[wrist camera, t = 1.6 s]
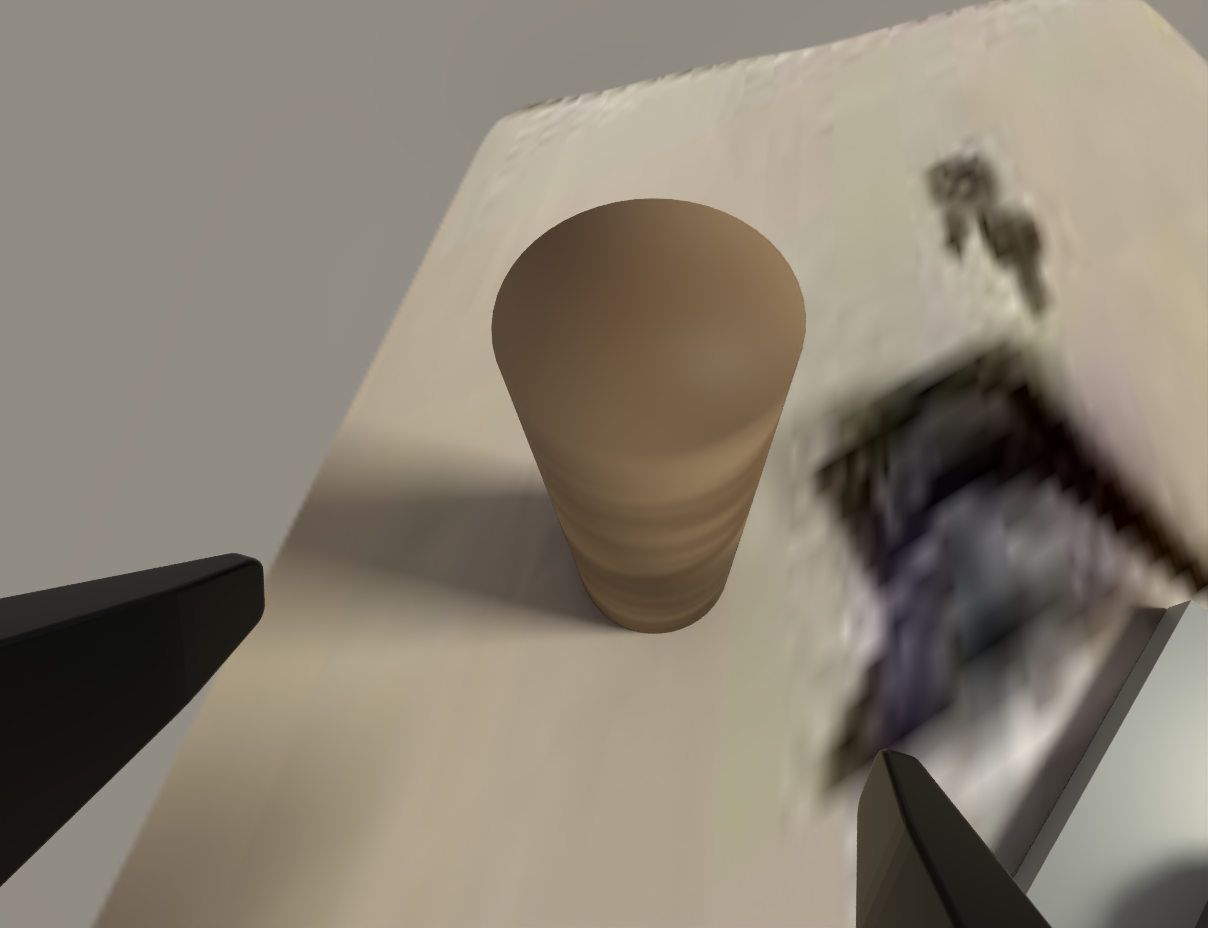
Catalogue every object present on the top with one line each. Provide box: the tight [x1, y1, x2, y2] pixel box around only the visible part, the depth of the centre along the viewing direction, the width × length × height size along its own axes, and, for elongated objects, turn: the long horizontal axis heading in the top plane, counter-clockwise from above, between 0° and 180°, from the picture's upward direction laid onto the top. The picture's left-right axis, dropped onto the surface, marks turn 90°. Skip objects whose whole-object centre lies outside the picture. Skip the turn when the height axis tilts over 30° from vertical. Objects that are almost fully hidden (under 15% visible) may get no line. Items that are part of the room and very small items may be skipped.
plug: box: [492, 199, 806, 633], centre depth 16 cm, size 5×5×13 cm
